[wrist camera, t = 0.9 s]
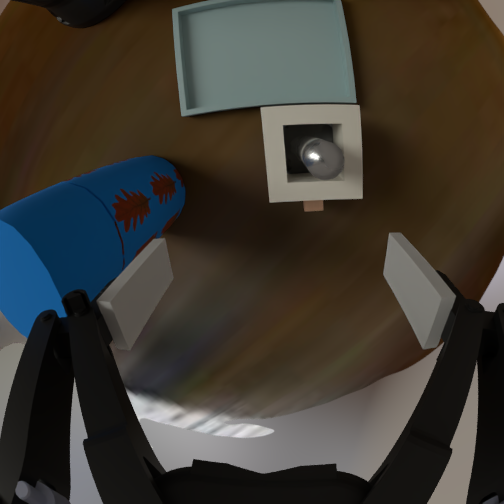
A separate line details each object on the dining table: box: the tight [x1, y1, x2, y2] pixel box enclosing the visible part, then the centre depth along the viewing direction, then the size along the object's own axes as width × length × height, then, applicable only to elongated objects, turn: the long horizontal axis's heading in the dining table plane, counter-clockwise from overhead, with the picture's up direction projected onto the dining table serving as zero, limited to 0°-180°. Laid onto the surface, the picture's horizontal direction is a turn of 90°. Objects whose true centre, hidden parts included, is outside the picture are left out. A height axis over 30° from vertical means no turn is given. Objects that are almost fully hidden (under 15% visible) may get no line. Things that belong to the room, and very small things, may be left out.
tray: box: [172, 0, 356, 117], centre depth 26 cm, size 15×20×2 cm
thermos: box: [0, 155, 185, 338], centre depth 25 cm, size 11×11×25 cm
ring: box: [261, 104, 363, 211], centre depth 26 cm, size 11×9×5 cm
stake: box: [283, 124, 345, 180], centre depth 25 cm, size 9×9×15 cm
